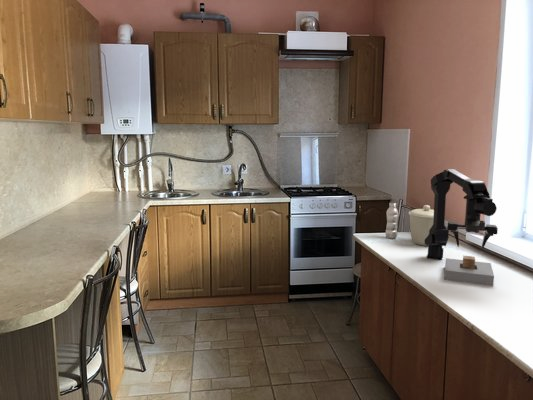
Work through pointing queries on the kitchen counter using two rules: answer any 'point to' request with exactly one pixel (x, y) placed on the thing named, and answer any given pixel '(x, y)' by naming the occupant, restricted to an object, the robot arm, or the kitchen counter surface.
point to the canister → (421, 224)
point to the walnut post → (468, 262)
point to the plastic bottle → (391, 221)
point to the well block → (469, 272)
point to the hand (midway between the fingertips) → (470, 247)
